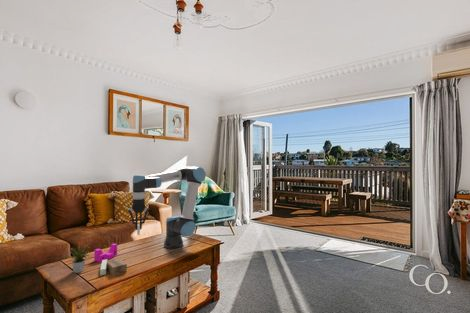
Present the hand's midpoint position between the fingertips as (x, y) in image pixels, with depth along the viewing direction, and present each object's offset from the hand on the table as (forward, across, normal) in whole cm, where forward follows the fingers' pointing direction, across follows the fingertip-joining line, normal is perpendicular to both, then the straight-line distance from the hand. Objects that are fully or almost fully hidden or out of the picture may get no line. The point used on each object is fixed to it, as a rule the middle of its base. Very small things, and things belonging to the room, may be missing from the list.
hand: (138, 234), depth 166 cm
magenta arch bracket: (+20, +20, -21) cm, 35 cm away
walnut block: (+20, +13, +5) cm, 24 cm away
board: (+20, +20, 0) cm, 28 cm away
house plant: (+20, +36, -2) cm, 41 cm away
